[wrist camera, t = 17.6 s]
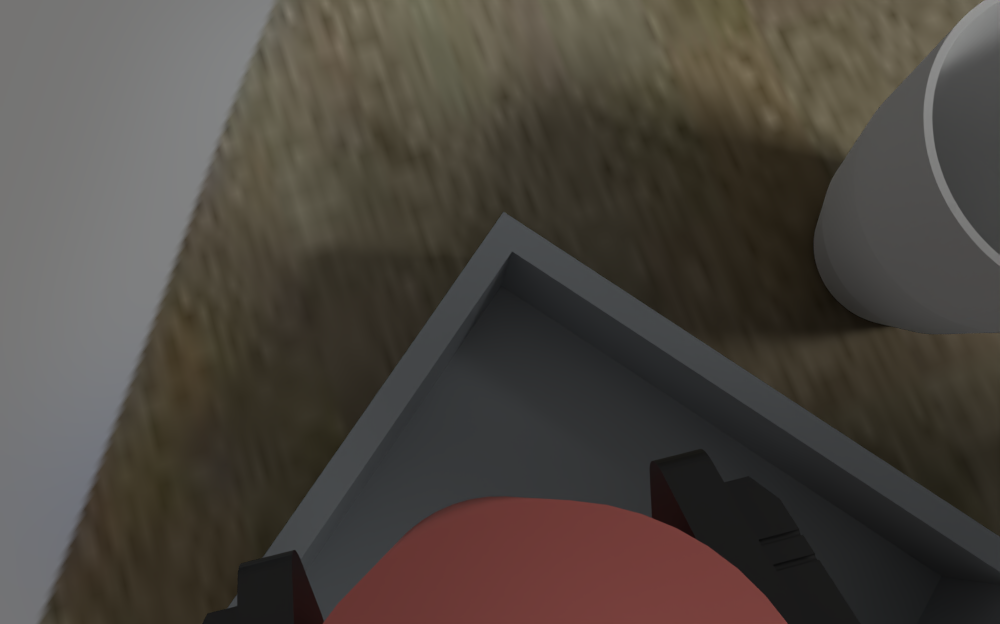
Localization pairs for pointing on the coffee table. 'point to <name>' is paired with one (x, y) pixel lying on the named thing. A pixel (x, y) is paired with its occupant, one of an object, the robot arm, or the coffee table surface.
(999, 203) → the cup
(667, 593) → the red capsule
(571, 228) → the coffee table surface
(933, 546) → the tote
